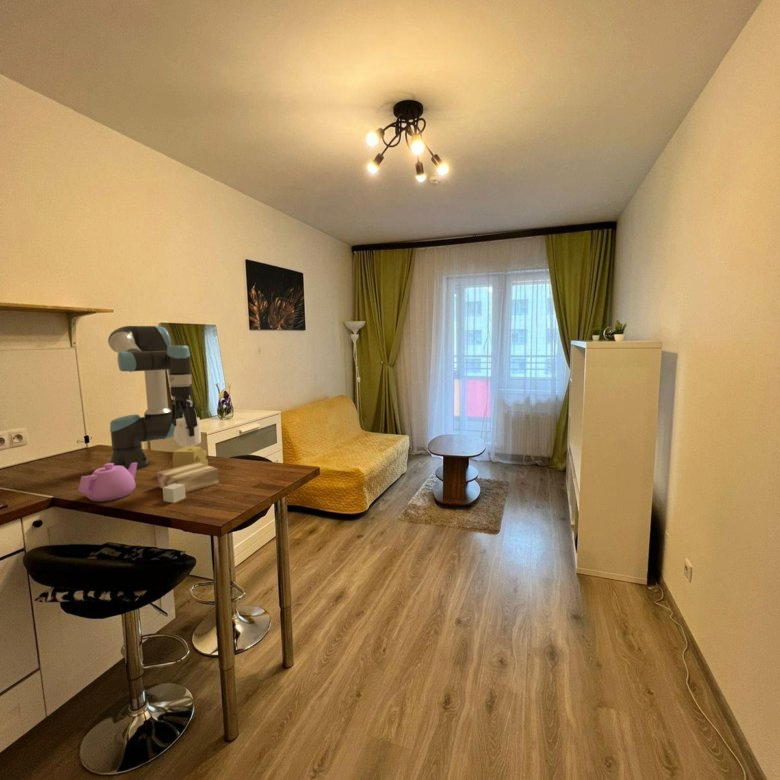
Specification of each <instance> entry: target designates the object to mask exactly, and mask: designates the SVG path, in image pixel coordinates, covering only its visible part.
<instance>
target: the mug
mask: <svg viewBox="0 0 780 780" xmlns="http://www.w3.org/2000/svg"><path fill="white" fill-rule="evenodd" d="M196 419H197V426H196V427H194V434H195V444H192V445H187V434H186V427H187V424H186V421H185V418H184V417H182V419H181V418H178V419H176V425H177V426H176V427H175V429H174V436H173V439H174V441H175V443H177V444H178V446H180V447H184V446H197V445H200V444H201V442H202V434H201V432H202V431H201V420H200V417H199V416H196Z"/></svg>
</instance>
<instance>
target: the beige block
mask: <svg viewBox="0 0 780 780" xmlns="http://www.w3.org/2000/svg"><path fill="white" fill-rule="evenodd" d="M162 497H163V502H167V503H173V504H174V503H177V502H179V501H182V500H184V499H186V497H187V496H186V493H185V485H183V484H176V483H174V484H171V485H169V486H166V487H163V489H162Z"/></svg>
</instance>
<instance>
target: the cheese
mask: <svg viewBox="0 0 780 780" xmlns="http://www.w3.org/2000/svg"><path fill="white" fill-rule="evenodd" d="M207 456H208V453H207V451H206V449H205V450H204V449H203V448H202V446H197V445H194V446H182V447H181V448H178V449H177V450H176V449H175V450H174V451H172V464H173V465H172V466H173V467H172V468H176V467H180V466H184V465H188V464H192V463H196V462H197V463H201V464H204V465H208V466H209V460H208V458H207Z"/></svg>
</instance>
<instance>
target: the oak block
mask: <svg viewBox="0 0 780 780" xmlns="http://www.w3.org/2000/svg"><path fill="white" fill-rule="evenodd" d="M156 473H157V486H158V488H160V489H162V490H163V487H166V486H169V485H171V484H174V483H176V484H183V485H185V494H188V493H190V492H194V491H197V490H200V489H203V488H207V487H210V486H213V485H216V484H219V483H220V482H219V481H220V480H219V468H218V467H215V466H211V465H209V464H208V465H204V464H201V463H197V462H196V463H192V464H188V465H184V466H180V467H176V468H174V467H172V468H169V469H164V470H161V471H157V472H156Z"/></svg>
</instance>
